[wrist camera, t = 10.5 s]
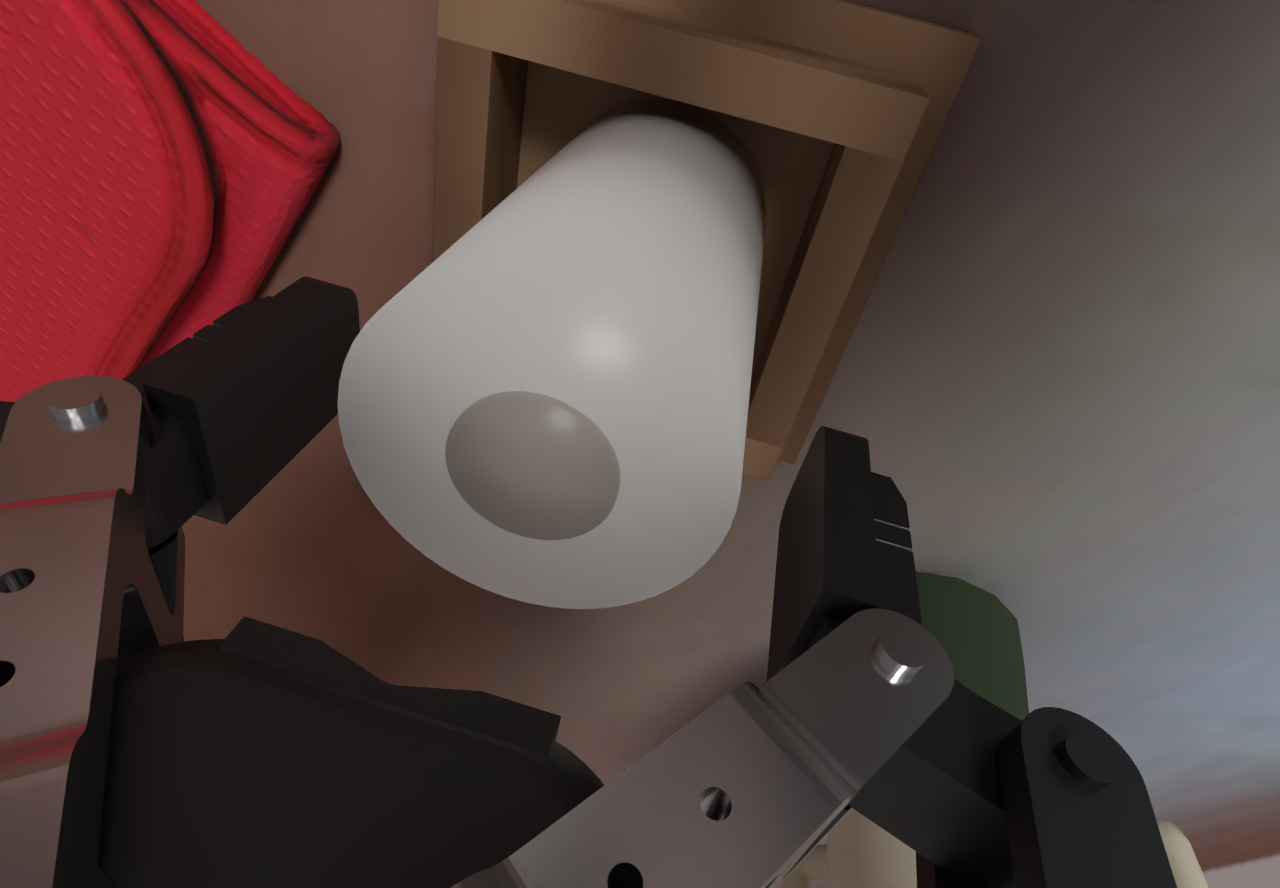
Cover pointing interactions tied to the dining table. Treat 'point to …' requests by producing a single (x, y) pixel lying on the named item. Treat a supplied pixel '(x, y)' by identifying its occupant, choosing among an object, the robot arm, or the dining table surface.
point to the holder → (752, 108)
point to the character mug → (994, 669)
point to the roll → (574, 370)
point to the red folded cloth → (136, 182)
